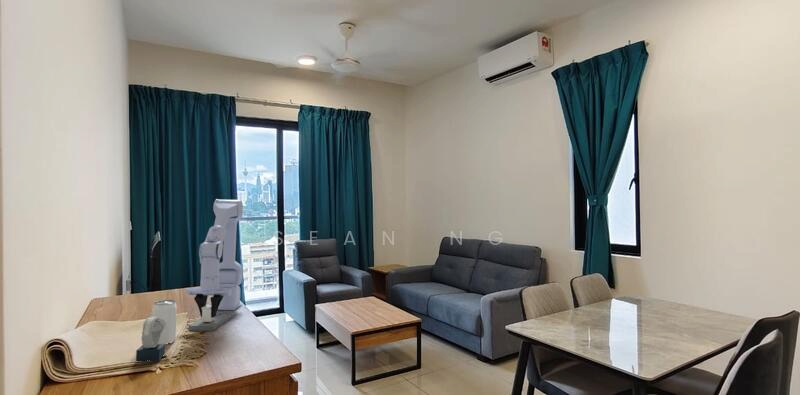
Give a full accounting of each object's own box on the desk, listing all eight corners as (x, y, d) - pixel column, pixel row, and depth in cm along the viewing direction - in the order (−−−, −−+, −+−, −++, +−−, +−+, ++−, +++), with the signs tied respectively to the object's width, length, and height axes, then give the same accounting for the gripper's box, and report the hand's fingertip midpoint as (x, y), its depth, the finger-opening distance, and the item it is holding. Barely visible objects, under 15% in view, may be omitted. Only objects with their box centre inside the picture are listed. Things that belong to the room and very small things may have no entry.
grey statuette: (167, 352, 115) (168, 313, 115) (156, 363, 107) (158, 321, 107) (144, 353, 113) (146, 313, 114) (132, 364, 106) (134, 322, 106)
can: (180, 339, 126) (181, 300, 126) (166, 346, 120) (167, 305, 120) (160, 338, 127) (162, 299, 127) (145, 345, 120) (147, 304, 120)
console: (212, 315, 153) (213, 311, 153) (234, 316, 153) (234, 312, 153) (188, 330, 135) (188, 325, 135) (212, 330, 135) (212, 326, 135)
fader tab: (206, 318, 142) (207, 304, 143) (215, 319, 142) (215, 304, 143) (201, 322, 138) (201, 307, 139) (210, 322, 139) (210, 307, 139)
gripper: (182, 278, 137) (181, 319, 136) (226, 279, 137) (224, 320, 137) (193, 274, 144) (191, 313, 144) (234, 275, 144) (233, 314, 144)
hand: (208, 316), depth 141 cm, fingers closed on fader tab, 3 cm apart
